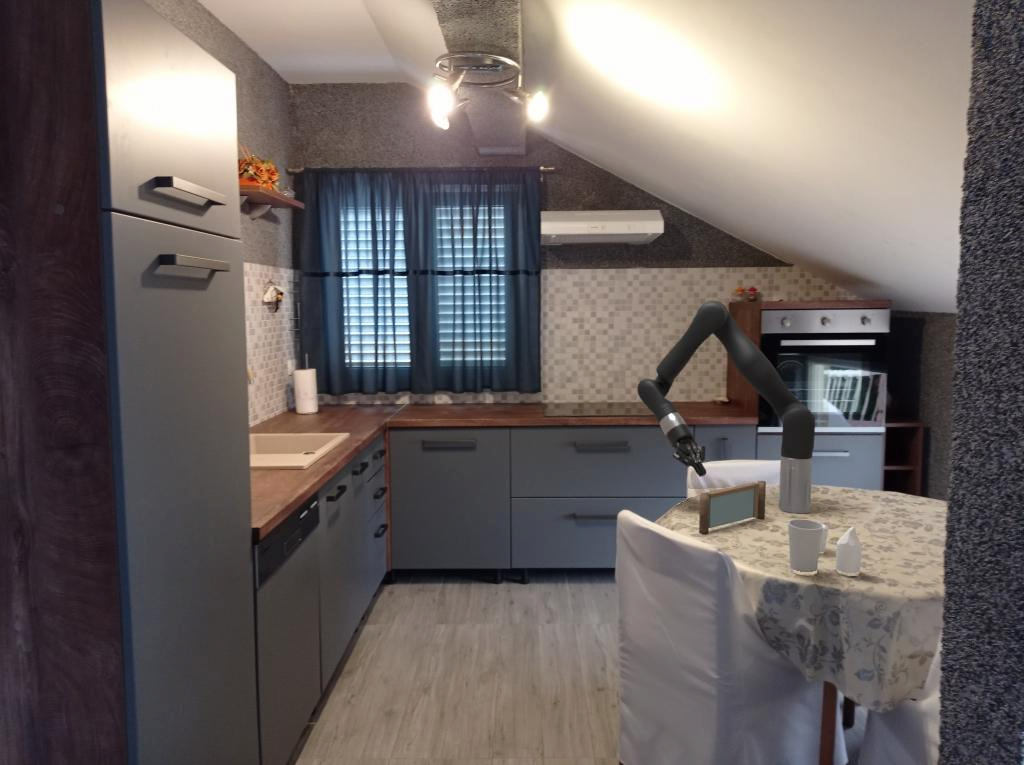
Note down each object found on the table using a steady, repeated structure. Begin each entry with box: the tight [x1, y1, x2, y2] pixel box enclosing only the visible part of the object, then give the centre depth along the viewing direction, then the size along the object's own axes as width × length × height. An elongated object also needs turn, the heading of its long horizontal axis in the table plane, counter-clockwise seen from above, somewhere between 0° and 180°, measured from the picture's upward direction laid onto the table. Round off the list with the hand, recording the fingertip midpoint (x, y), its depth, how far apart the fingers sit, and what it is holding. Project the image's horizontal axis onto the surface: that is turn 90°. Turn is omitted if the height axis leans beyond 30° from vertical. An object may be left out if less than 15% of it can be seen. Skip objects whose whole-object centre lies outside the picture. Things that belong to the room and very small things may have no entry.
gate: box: [706, 482, 759, 529], centre depth 207 cm, size 20×2×10 cm, turn 121°
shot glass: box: [819, 522, 829, 553], centre depth 187 cm, size 7×7×7 cm
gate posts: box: [698, 480, 767, 535], centre depth 207 cm, size 27×3×11 cm, turn 121°
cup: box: [787, 518, 823, 572], centre depth 173 cm, size 8×8×12 cm
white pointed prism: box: [834, 525, 863, 573], centre depth 172 cm, size 6×12×6 cm
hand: (703, 475), depth 217 cm, fingers closed
